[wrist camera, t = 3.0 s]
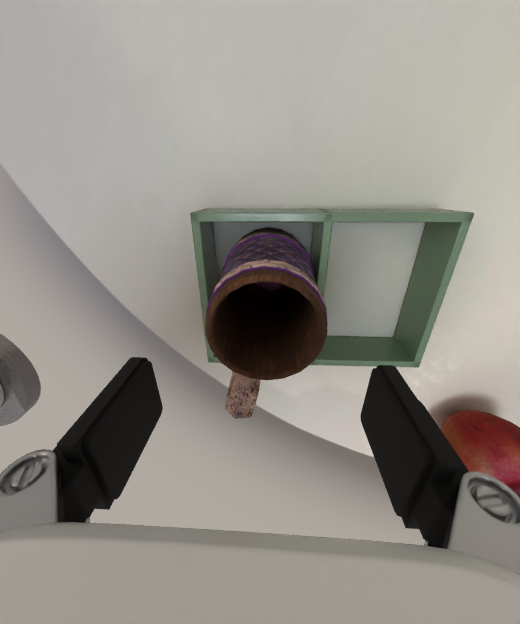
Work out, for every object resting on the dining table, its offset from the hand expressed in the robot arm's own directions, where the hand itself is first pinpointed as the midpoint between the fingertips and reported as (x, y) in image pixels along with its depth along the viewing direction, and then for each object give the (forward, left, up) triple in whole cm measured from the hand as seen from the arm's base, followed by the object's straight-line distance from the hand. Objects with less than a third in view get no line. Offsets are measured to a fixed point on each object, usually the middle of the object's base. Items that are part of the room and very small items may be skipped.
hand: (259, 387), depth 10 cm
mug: (0, 0, -14) cm, 14 cm away
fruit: (+23, -17, -14) cm, 32 cm away
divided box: (+4, 0, -14) cm, 14 cm away
